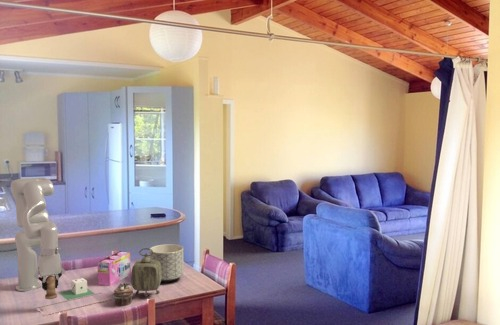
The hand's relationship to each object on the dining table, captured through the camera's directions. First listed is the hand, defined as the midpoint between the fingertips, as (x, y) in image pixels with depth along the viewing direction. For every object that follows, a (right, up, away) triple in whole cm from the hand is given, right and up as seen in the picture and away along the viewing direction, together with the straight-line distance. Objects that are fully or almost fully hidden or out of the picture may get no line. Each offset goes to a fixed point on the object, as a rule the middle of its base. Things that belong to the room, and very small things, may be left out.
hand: (50, 288), depth 226 cm
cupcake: (+33, -10, +8) cm, 35 cm away
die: (+6, -8, +24) cm, 26 cm away
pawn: (+1, -4, 0) cm, 4 cm away
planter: (+48, -7, +45) cm, 66 cm away
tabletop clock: (+42, -9, +19) cm, 47 cm away
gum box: (+18, -7, +44) cm, 49 cm away
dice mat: (+5, -9, +22) cm, 24 cm away
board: (+9, -10, +7) cm, 15 cm away
